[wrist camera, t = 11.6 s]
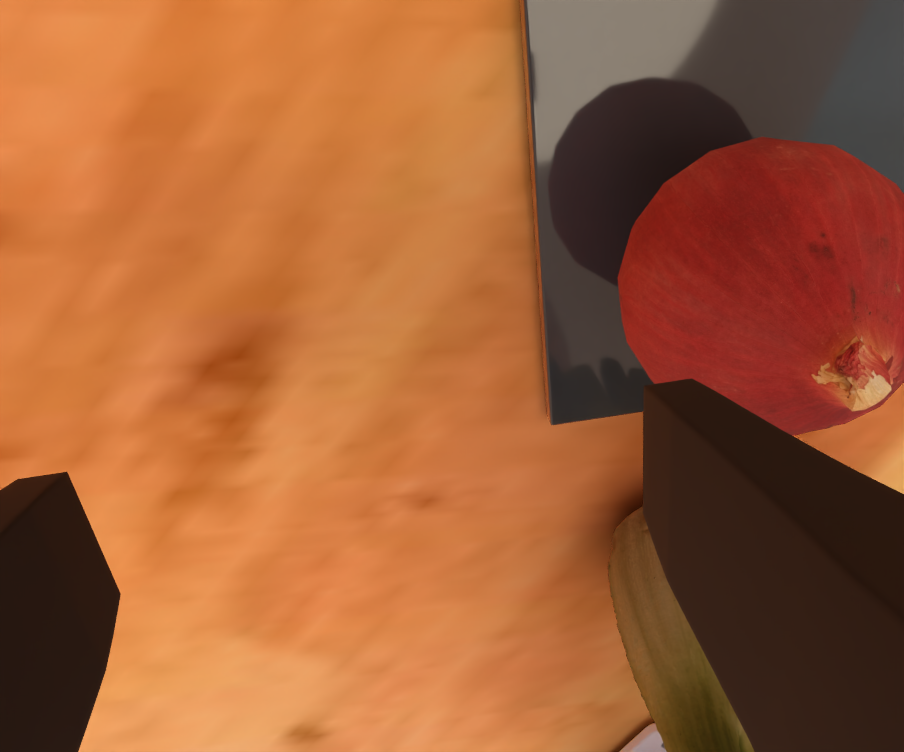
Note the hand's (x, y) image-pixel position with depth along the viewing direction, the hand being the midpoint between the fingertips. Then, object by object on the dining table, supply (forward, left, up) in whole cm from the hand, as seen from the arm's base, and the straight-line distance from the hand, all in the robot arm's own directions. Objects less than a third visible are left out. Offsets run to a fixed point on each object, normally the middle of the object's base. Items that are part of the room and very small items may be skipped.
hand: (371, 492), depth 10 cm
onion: (-7, -5, -10) cm, 13 cm away
